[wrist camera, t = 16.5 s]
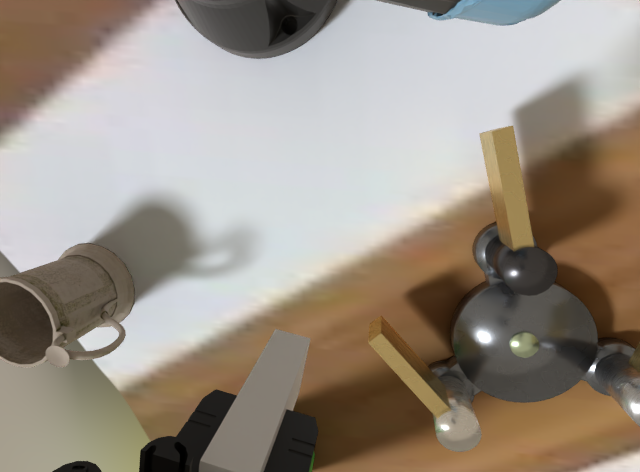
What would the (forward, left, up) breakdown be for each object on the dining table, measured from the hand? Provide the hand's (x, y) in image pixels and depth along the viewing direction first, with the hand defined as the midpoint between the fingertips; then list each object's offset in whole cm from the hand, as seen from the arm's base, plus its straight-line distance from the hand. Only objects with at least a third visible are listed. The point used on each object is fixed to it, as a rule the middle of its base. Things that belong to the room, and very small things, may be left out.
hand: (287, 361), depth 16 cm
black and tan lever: (-8, +12, -20) cm, 25 cm away
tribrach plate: (+4, +21, -22) cm, 30 cm away
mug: (+13, -23, -22) cm, 34 cm away
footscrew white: (+9, +10, -20) cm, 24 cm away
